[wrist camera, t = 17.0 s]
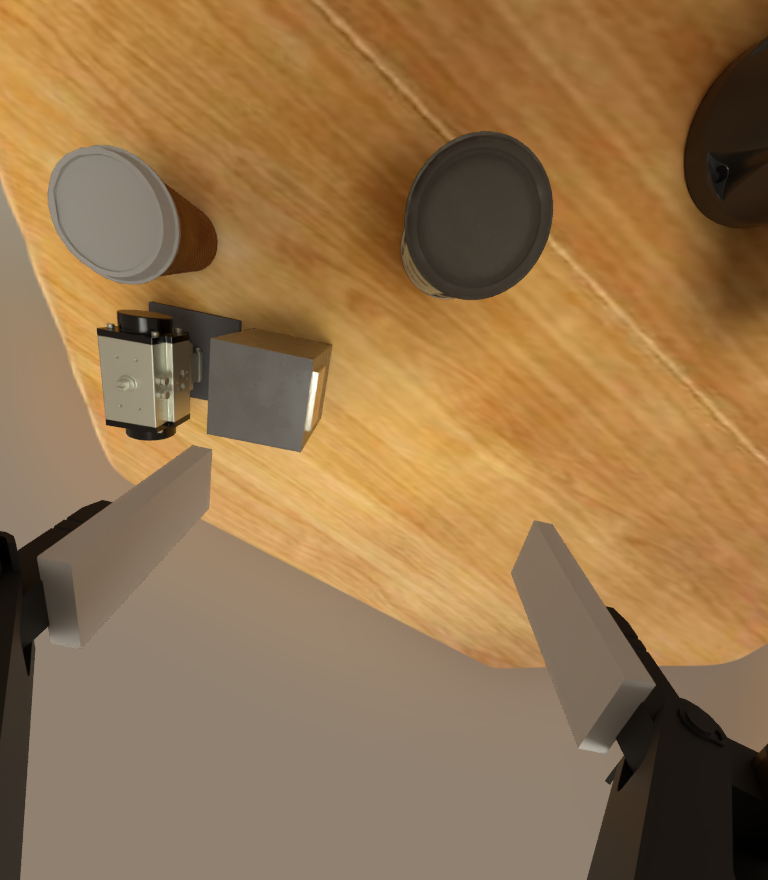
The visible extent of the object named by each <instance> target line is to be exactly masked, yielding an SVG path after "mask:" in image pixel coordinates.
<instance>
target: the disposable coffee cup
mask: <svg viewBox="0 0 768 880" xmlns="http://www.w3.org/2000/svg"><path fill="white" fill-rule="evenodd" d="M48 206H49V210H50V215H51V219H52V221H53V224H54V226H55V229H56V231H57V233H58V235H59V236H60V238H61V240H62V241H63V243H64V244H65V245H66V247H67V248H68V250H69V251H70V252H71V253H72V254H73V255H74V256H75V257H76V258H77V259H79V260H80V261H81V262H82V263H83V264H85V265H86V266H88V267H89V268H91V269H92V270H93V271H95V272H96V273H98V274H100V275H102V276H103V277H105V278H107V279H109V280H112V281H115V282H118V283H124V284H142V283H146V282H150V281H152V280H154V279H156V278H158V277H159V276H165V275H172V274H179V273H185V272H192V271H199V270H202V269H204V268H206V267H207V266H208V265H209V264H210V263H211V262H212V260H213V259H214V257H215V255H216V250H217V236H216V233H215V230H214V227H213V225H212V223H211V222H210V220H209V219H208V218H207V216H206V215H205V214H204V213H203V212H202V211H200V210H199V209H197V208H196V207H195V206H193V205H192V204H191V203H190V202H188V201H187V200H186V199H184V198H183V197H182V196H181V195H179V194H178V193H177V192H175V191H174V190H173V189H171V188H170V187H169V186H168V185H166V184H165V183H164V182H163V181H162V180H161V178H160V177H159V176H158V175H157V174H156V173H155V171H154V170H153V169H152V168H151V167H149V166H148V165H147V164H146V163H145V162H144V161H142V160H141V159H140V158H139V157H137V156H135V155H133V154H131V153H129V152H127V151H125V150H123V149H121V148H117V147H113V146H109V145H95V146H91V147H81V148H79V149H76V150H74V151H72V152H70V153H67V154H66V155H65V156H64V157H63V158H62V159H61V160H60V161H59V162H58V163H57V164H56V166H55V168H54V170H53V172H52V174H51V178H50V182H49V188H48Z"/></svg>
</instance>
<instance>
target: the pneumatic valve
mask: <svg viewBox="0 0 768 880" xmlns="http://www.w3.org/2000/svg"><path fill="white" fill-rule="evenodd" d="M117 323H118V326H115V325H114V324H110V323H108V324H107V327H103V328H97V335H98V345H99V356H100V366H101V376H102V386H103V397H104V407H105V417H106V425H109V426H115V427H121V428H126V434H127V435H128V436H129V437H131V438H134V439H138V440H161V439H166V438H169V437H171V436H173V435H174V434H175V433H176V427H177V426H178V425H180V424H182V423H183V422H185V421H187V420H188V419H190V390H192V389H193V383H194V382H201V380H203V352H201V349H200V348H196V349H195V351H193V344H192V343H191V342H189V332H186V331H182V329H180V328H175V329H173V317H171V316H169V315H165V314H161V313H155V312H148V311H139V310H118V311H117Z"/></svg>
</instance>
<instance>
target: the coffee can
mask: <svg viewBox="0 0 768 880" xmlns="http://www.w3.org/2000/svg"><path fill="white" fill-rule="evenodd" d="M552 217H553V199H552V191H551V187H550V183H549V179H548V177H547V174H546V172H545V170H544V168H543V166H542V164H541V162H540V161H539V159H538V158H537V157H536V155H535V154H534V153H533V152H532V151H531V150H530V149H529V148H528V147H527V146H525V145H524V144H523V143H521V142H520V141H519V140H517V139H515V138H513V137H511V136H508V135H505V134H502V133H498V132H491V131H480V132H473V133H469V134H465V135H462V136H460V137H458V138H455V139H453V140H451V141H449V142H448V143H447V144H445V145H444V146H442V147H441V148H440V149H438V150H437V151H436V152H435V153H434V154H433V155H432V156H431V157H430V158H429V159H428V160H427V162H426V163H425V164H424V166H423V167H422V168H421V170H420V171H419V173H418V175H417V177H416V178H415V180H414V182H413V185H412V187H411V190H410V192H409V195H408V199H407V203H406V210H405V221H404V232H403V235H402V241H401V256H402V262H403V265H404V268H405V271H406V273H407V275H408V276H409V278H410V280H411V281H412V282H413V283H414V285H415V286H416V287H417V288H419V289H420V290H421V291H422V292H424V293H425V294H427V295H429V296H432V297H435V298H439V299H454V298H458V299H464V300H479V299H485V298H489V297H493V296H495V295H498V294H500V293H502V292H504V291H506V290H508V289H510V288H511V287H513V286H514V285H516V284H517V283H518V282H519V281H521V280H522V279H523V278H524V277H525V276H526V275H527V274H528V272H529V271H530V270H531V269H532V268H533V266H534V265H535V263H536V262H537V260H538V259H539V257H540V255H541V253H542V251H543V250H544V247H545V245H546V242H547V240H548V237H549V233H550V229H551V224H552Z"/></svg>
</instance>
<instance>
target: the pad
mask: <svg viewBox="0 0 768 880" xmlns="http://www.w3.org/2000/svg"><path fill="white" fill-rule="evenodd" d="M149 312H155V313H161V314H165V315H169V316H171V317H173V329H175V328H180V329H182V331H186V332H189V342H191V343H192V344H193V351H195V349H196V348H200V349H201V352H203V380H201V382H194V383H193V389H192V390H190V397H193V398H198V399H203V400H208V391H209V364H210V338H213V337H218V336H222V335H227V334H231V333H236V332H240V331H241V321H240V320H235V319H230V318H226V317H221V316H216V315H212V314H207V313H202V312H198V311H193V310H188V309H184V308H179V307H174V306H170V305H165V304H160V303H156V302H149Z"/></svg>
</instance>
